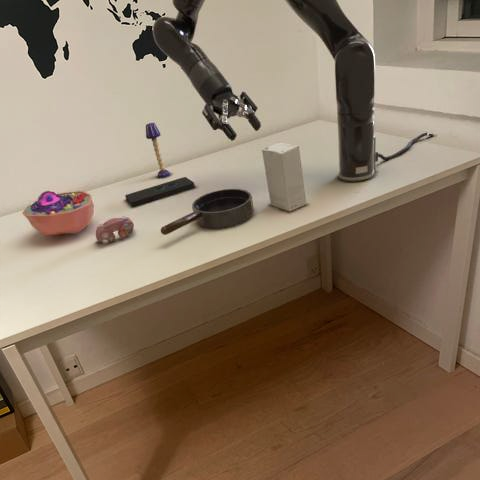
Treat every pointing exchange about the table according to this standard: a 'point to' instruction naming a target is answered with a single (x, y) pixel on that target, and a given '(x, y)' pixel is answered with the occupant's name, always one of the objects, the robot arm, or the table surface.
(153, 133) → the toy lamp
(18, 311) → the table surface
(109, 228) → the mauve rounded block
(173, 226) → the pan handle
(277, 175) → the cosmetic box
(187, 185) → the smart home device
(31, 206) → the cell model
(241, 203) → the pan
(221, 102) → the robot arm
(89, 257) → the table surface
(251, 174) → the table surface
